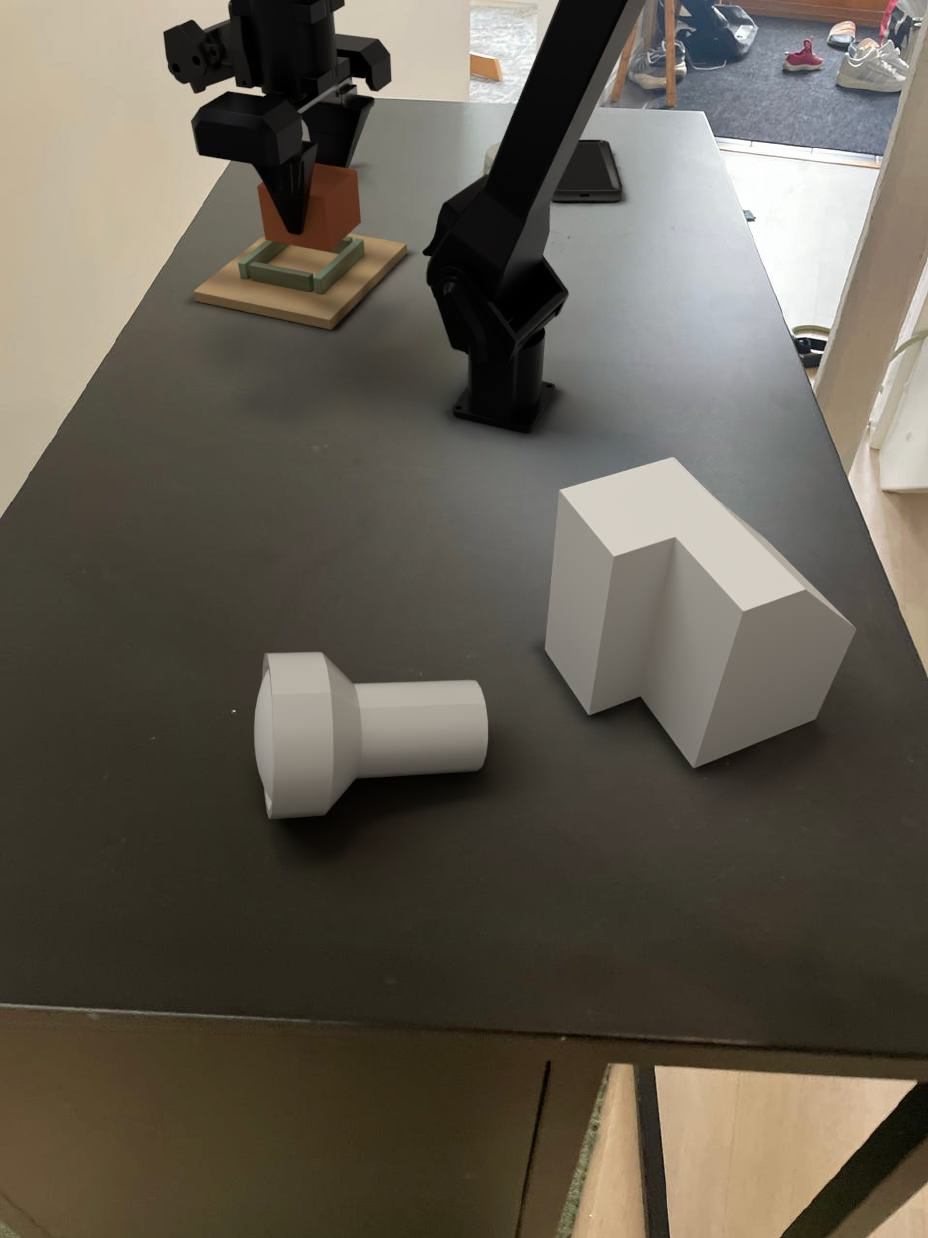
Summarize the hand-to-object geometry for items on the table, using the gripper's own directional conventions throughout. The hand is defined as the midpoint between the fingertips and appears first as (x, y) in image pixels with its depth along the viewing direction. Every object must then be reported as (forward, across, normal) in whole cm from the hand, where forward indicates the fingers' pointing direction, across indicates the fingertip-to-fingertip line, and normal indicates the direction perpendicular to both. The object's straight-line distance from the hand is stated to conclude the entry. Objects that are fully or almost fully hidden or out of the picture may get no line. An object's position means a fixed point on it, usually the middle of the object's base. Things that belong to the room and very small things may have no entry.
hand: (313, 217), depth 70 cm
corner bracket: (+11, +26, +35) cm, 45 cm away
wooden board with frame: (+11, -11, -8) cm, 17 cm away
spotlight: (+11, +38, +21) cm, 45 cm away
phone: (+11, -43, +10) cm, 46 cm away
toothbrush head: (+11, -22, +8) cm, 26 cm away
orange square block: (+1, 0, 0) cm, 1 cm away
